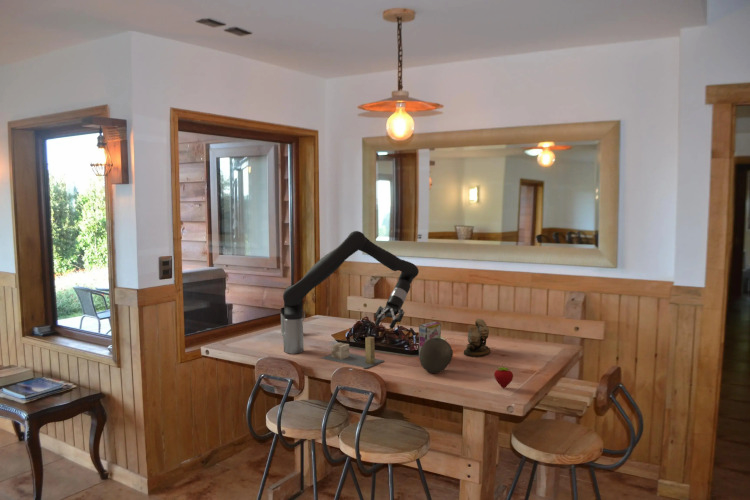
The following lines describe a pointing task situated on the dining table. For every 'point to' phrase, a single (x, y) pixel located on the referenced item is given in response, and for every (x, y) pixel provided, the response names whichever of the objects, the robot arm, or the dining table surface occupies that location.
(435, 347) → the coconut
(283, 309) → the glass holder
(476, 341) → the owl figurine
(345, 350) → the cube
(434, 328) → the candy bar box
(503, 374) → the strawberry
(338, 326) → the dining table surface
